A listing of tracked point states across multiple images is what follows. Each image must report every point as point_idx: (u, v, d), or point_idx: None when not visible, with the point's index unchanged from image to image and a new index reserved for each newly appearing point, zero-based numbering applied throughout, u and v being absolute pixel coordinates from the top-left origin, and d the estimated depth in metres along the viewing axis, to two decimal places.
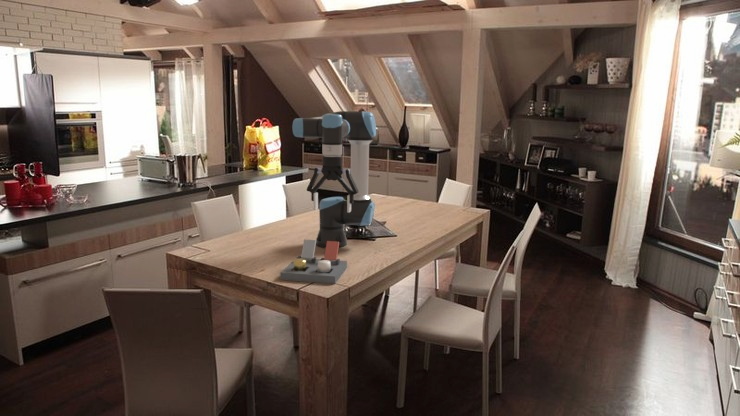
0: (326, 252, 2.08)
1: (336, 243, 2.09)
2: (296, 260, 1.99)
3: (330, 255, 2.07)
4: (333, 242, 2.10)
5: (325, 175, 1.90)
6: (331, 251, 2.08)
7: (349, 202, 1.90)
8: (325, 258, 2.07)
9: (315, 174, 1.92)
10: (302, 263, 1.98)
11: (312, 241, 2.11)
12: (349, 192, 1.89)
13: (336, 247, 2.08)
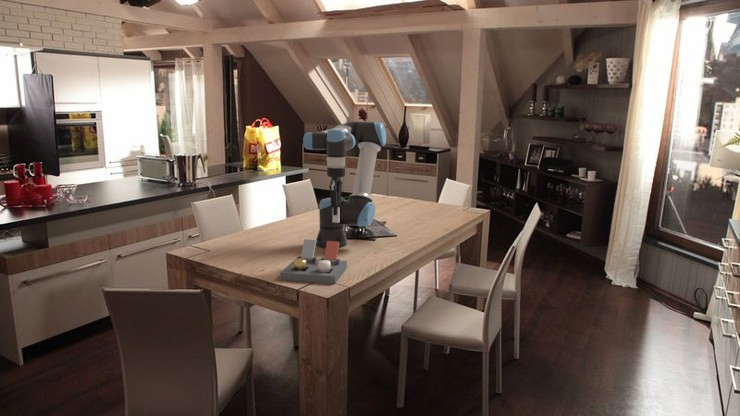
0: (326, 252, 2.08)
1: (336, 243, 2.09)
2: (296, 260, 1.99)
3: (330, 255, 2.07)
4: (333, 242, 2.10)
5: None
6: (331, 251, 2.08)
7: None
8: (325, 258, 2.07)
9: None
10: (302, 263, 1.98)
11: (312, 241, 2.11)
12: None
13: (336, 247, 2.08)
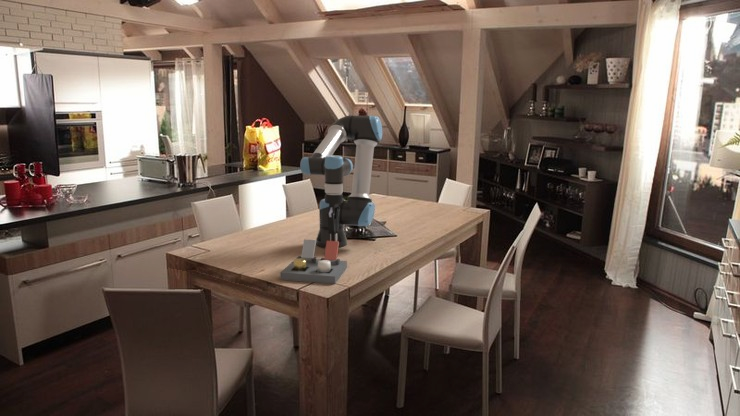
0: (326, 252, 2.08)
1: (336, 243, 2.09)
2: (296, 260, 1.99)
3: (330, 255, 2.07)
4: (333, 242, 2.09)
5: None
6: (330, 251, 2.08)
7: None
8: (325, 258, 2.07)
9: None
10: (302, 263, 1.98)
11: (312, 241, 2.11)
12: None
13: (336, 247, 2.08)
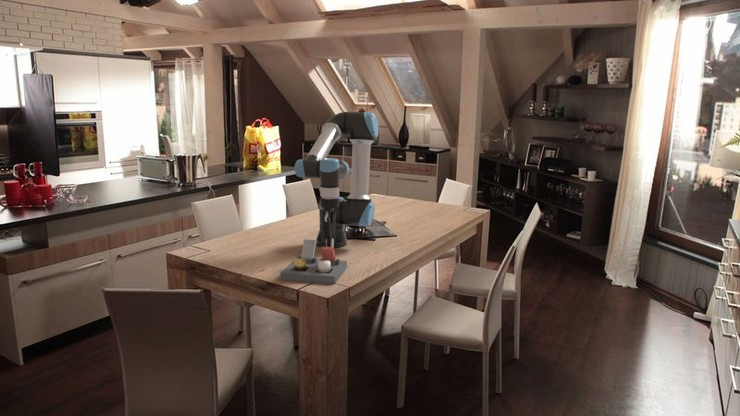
0: (323, 256, 2.04)
1: (331, 250, 2.01)
2: (296, 260, 1.99)
3: (328, 258, 2.05)
4: (327, 250, 2.01)
5: None
6: (328, 256, 2.04)
7: (326, 245, 2.05)
8: None
9: None
10: (302, 263, 1.98)
11: (312, 241, 2.11)
12: None
13: (332, 253, 2.02)
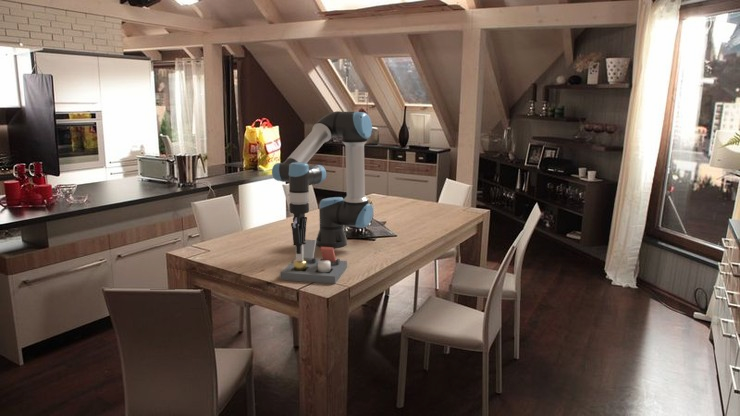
0: (323, 256, 2.04)
1: (331, 250, 2.01)
2: (296, 261, 1.99)
3: (328, 258, 2.05)
4: (327, 250, 2.01)
5: None
6: (328, 256, 2.04)
7: None
8: None
9: None
10: (302, 264, 1.98)
11: (312, 241, 2.11)
12: None
13: (332, 253, 2.02)
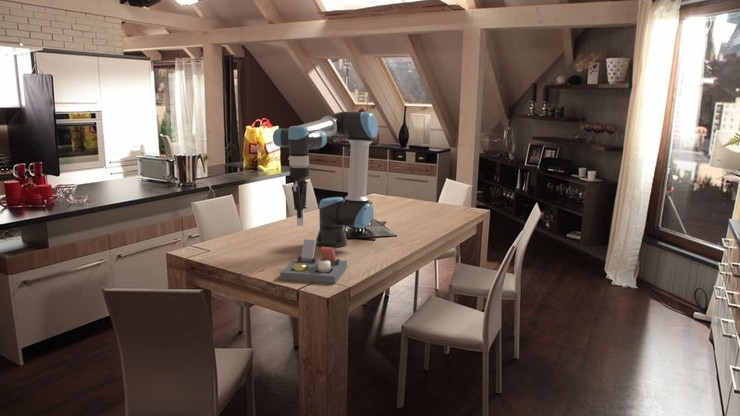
0: (323, 256, 2.04)
1: (331, 250, 2.01)
2: (296, 265, 2.00)
3: (328, 258, 2.05)
4: (327, 250, 2.01)
5: None
6: (328, 256, 2.04)
7: None
8: None
9: None
10: (302, 268, 1.98)
11: (312, 241, 2.11)
12: None
13: (332, 253, 2.02)
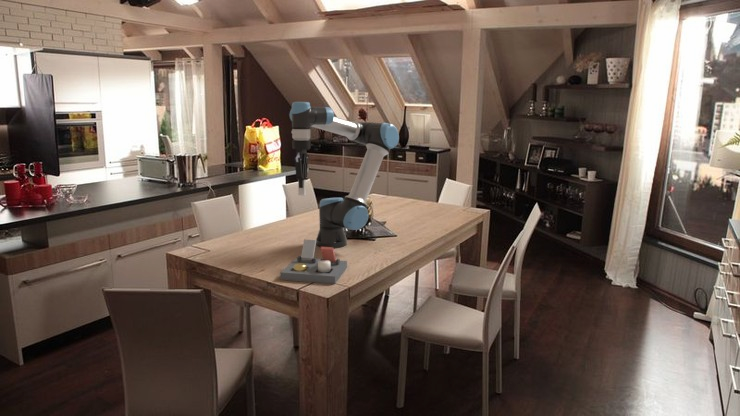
0: (323, 256, 2.04)
1: (331, 250, 2.01)
2: (296, 265, 2.00)
3: (328, 258, 2.05)
4: (327, 250, 2.01)
5: None
6: (328, 256, 2.04)
7: None
8: None
9: None
10: (302, 268, 1.98)
11: (312, 241, 2.11)
12: None
13: (332, 253, 2.02)
